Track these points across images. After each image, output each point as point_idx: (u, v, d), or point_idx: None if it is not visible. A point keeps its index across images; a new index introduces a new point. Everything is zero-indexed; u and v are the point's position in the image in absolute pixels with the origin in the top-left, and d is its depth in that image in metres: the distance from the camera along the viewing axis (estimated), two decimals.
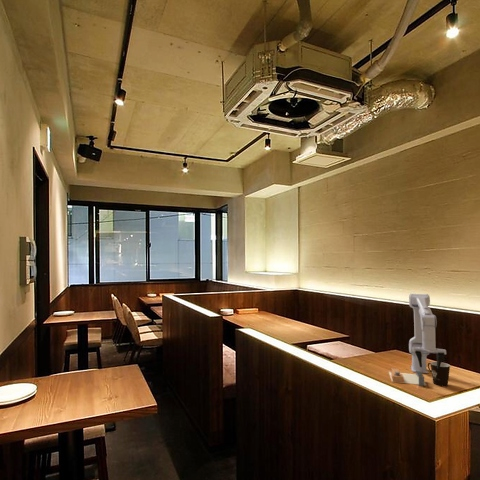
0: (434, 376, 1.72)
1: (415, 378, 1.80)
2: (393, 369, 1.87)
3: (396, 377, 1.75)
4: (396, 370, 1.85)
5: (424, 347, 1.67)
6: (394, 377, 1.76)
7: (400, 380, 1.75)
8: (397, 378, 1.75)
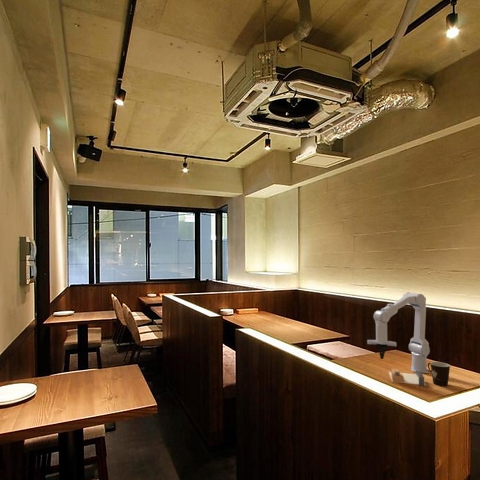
0: (434, 376, 1.72)
1: (415, 378, 1.80)
2: (393, 369, 1.87)
3: (396, 377, 1.75)
4: (396, 370, 1.85)
5: (377, 340, 1.85)
6: (394, 377, 1.76)
7: (400, 380, 1.75)
8: (397, 378, 1.75)
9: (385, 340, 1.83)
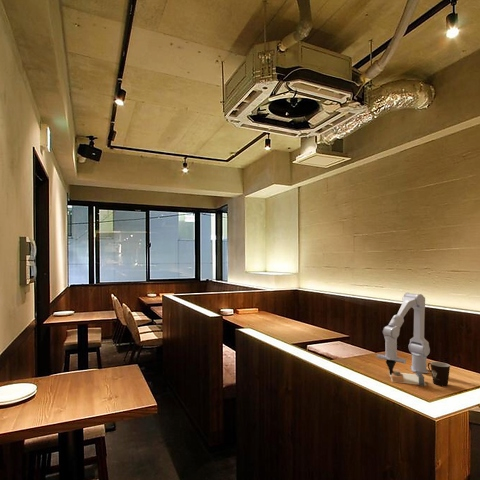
0: (434, 376, 1.72)
1: (415, 378, 1.80)
2: (394, 369, 1.87)
3: (396, 377, 1.75)
4: (397, 370, 1.85)
5: (385, 355, 1.84)
6: (394, 377, 1.76)
7: (400, 380, 1.75)
8: (397, 378, 1.75)
9: (393, 356, 1.81)
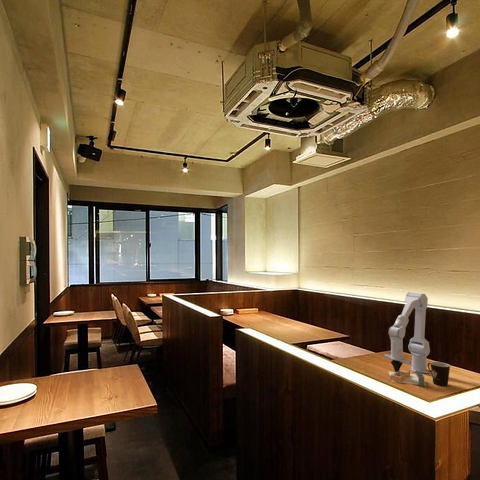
0: (434, 376, 1.72)
1: (415, 378, 1.80)
2: (402, 370, 1.85)
3: (393, 376, 1.76)
4: (404, 371, 1.83)
5: (391, 355, 1.85)
6: (392, 376, 1.77)
7: (397, 380, 1.75)
8: (394, 377, 1.76)
9: (397, 356, 1.81)
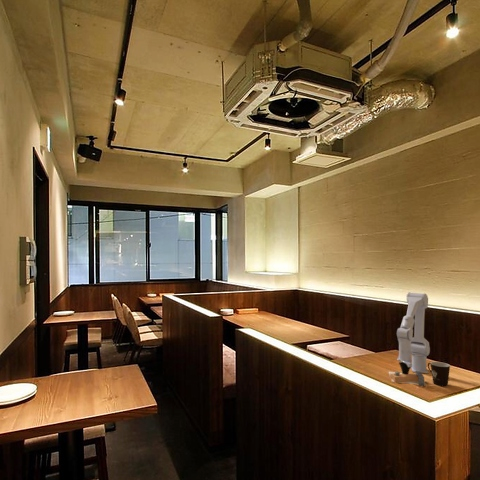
0: (434, 376, 1.72)
1: None
2: (413, 374, 1.79)
3: (391, 375, 1.78)
4: (412, 375, 1.77)
5: None
6: (390, 375, 1.79)
7: (393, 379, 1.76)
8: (392, 376, 1.78)
9: (401, 358, 1.79)
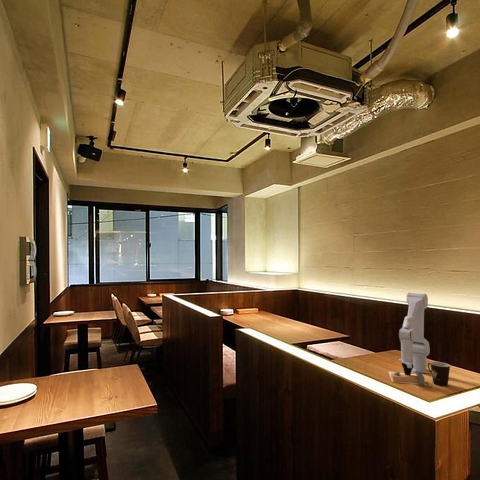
0: (434, 376, 1.72)
1: None
2: (416, 376, 1.76)
3: (391, 375, 1.79)
4: (414, 376, 1.75)
5: None
6: (391, 374, 1.80)
7: (392, 378, 1.77)
8: (392, 376, 1.79)
9: (403, 358, 1.78)
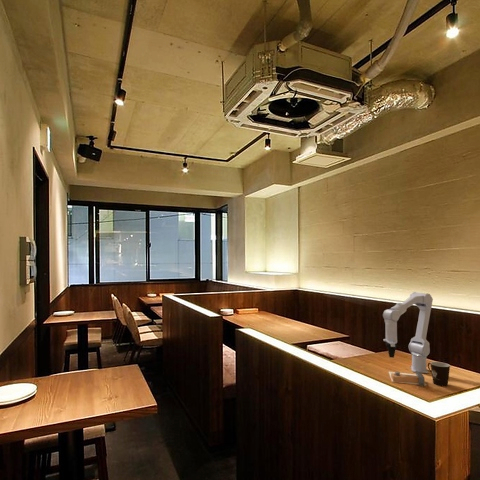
0: (434, 376, 1.72)
1: None
2: (416, 376, 1.76)
3: (391, 375, 1.79)
4: (414, 376, 1.75)
5: None
6: (391, 374, 1.80)
7: (392, 378, 1.77)
8: (392, 376, 1.79)
9: (387, 338, 1.85)
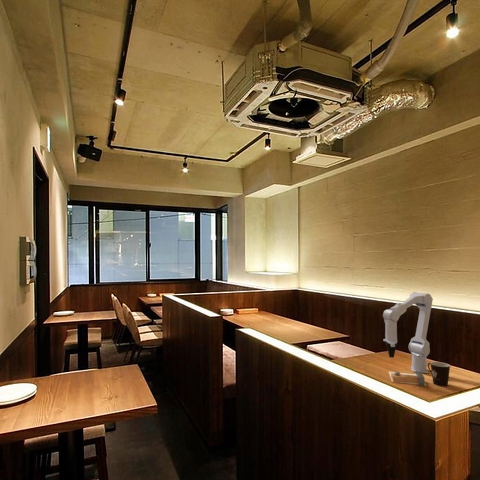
0: (434, 376, 1.72)
1: None
2: (416, 376, 1.76)
3: (391, 375, 1.79)
4: (414, 376, 1.75)
5: None
6: (391, 374, 1.80)
7: (392, 378, 1.77)
8: (392, 376, 1.79)
9: (387, 338, 1.85)
